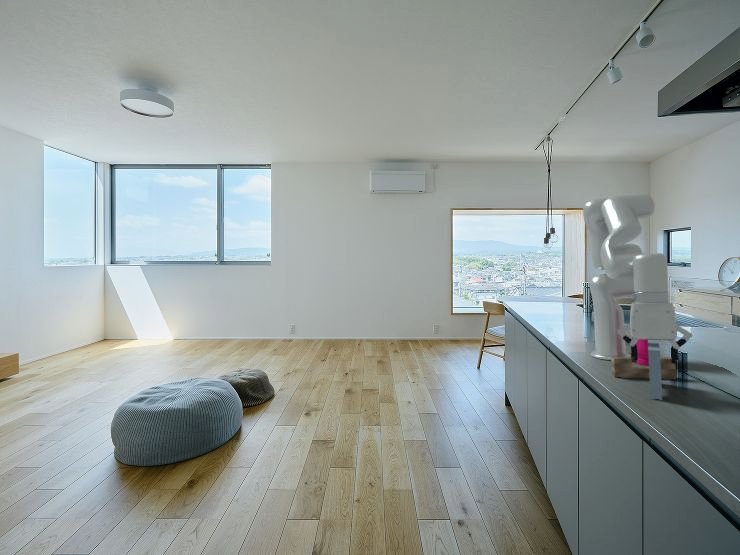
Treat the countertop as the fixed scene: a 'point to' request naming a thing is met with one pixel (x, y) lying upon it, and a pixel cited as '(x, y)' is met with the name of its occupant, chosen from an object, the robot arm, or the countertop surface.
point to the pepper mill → (642, 352)
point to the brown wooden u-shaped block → (641, 368)
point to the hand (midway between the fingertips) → (654, 360)
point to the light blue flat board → (654, 369)
